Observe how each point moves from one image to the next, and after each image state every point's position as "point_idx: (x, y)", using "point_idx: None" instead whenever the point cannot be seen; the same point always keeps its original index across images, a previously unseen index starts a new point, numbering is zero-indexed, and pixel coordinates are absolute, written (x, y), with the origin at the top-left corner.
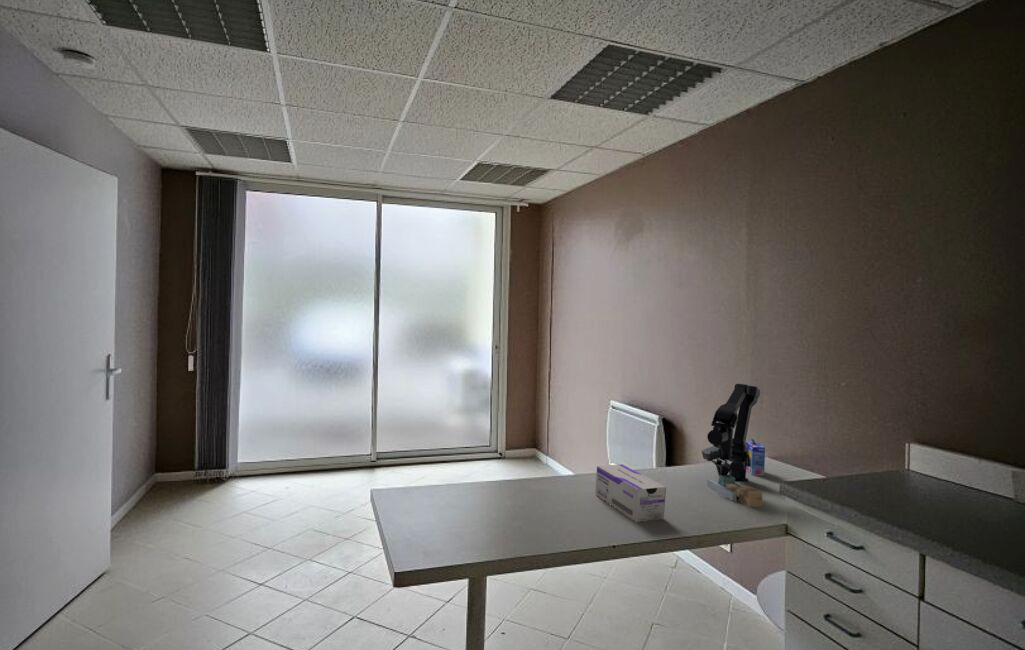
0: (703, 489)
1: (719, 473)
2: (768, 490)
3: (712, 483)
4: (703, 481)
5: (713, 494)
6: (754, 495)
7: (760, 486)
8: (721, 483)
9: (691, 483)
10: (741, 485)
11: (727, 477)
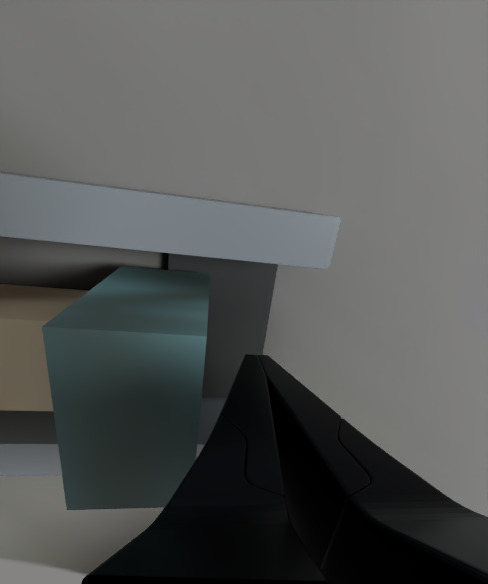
0: (220, 62)
1: (287, 404)
2: None
3: (221, 202)
4: (421, 272)
5: (24, 52)
6: None
7: None
8: (141, 288)
9: (434, 72)
10: None
11: (77, 412)
